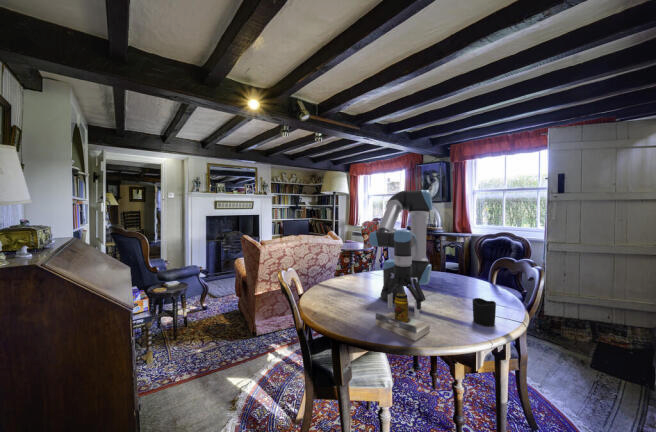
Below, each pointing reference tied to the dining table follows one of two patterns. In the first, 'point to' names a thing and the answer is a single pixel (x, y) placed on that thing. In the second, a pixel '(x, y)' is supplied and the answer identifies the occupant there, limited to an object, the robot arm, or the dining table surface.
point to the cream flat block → (402, 326)
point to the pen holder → (484, 312)
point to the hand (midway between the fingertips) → (403, 311)
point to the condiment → (401, 308)
